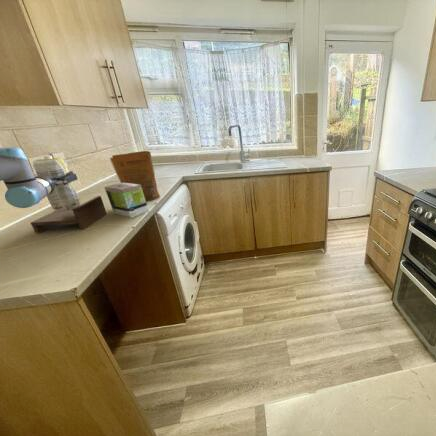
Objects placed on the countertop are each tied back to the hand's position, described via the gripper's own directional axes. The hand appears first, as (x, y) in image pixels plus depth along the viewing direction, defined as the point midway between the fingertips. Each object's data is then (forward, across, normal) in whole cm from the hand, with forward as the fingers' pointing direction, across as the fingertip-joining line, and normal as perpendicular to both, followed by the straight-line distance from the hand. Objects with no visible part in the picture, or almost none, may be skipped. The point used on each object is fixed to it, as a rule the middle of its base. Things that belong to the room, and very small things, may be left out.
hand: (58, 175), depth 111 cm
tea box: (-3, +24, -22) cm, 33 cm away
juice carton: (-4, 0, -15) cm, 16 cm away
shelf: (-4, 0, -22) cm, 23 cm away
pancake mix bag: (+15, +29, -22) cm, 40 cm away
